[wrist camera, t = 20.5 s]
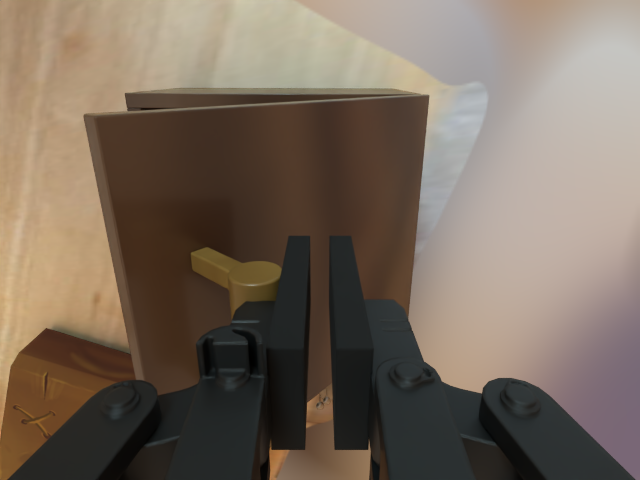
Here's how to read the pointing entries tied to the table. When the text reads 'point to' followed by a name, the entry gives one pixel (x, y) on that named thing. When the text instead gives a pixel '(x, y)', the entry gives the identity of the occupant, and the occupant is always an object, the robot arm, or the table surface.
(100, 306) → the table surface
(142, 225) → the chest lid
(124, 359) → the diary
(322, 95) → the chest
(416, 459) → the robot arm
